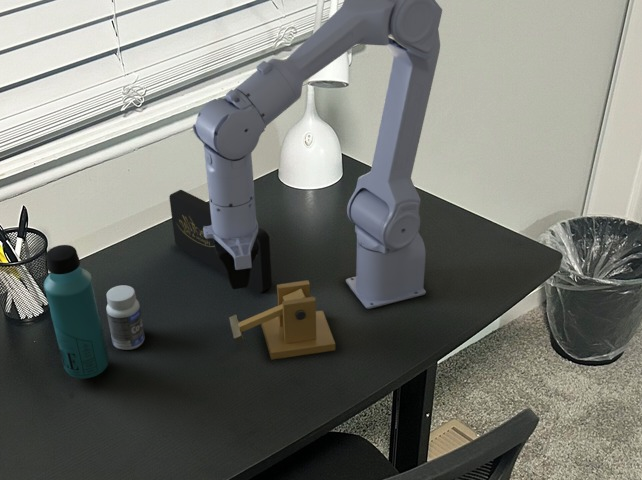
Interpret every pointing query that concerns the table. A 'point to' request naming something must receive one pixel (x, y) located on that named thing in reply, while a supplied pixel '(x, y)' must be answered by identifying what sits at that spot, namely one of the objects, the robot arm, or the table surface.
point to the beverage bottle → (75, 314)
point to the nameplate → (190, 238)
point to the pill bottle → (124, 318)
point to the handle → (260, 317)
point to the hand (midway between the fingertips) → (239, 285)
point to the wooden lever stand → (297, 325)
